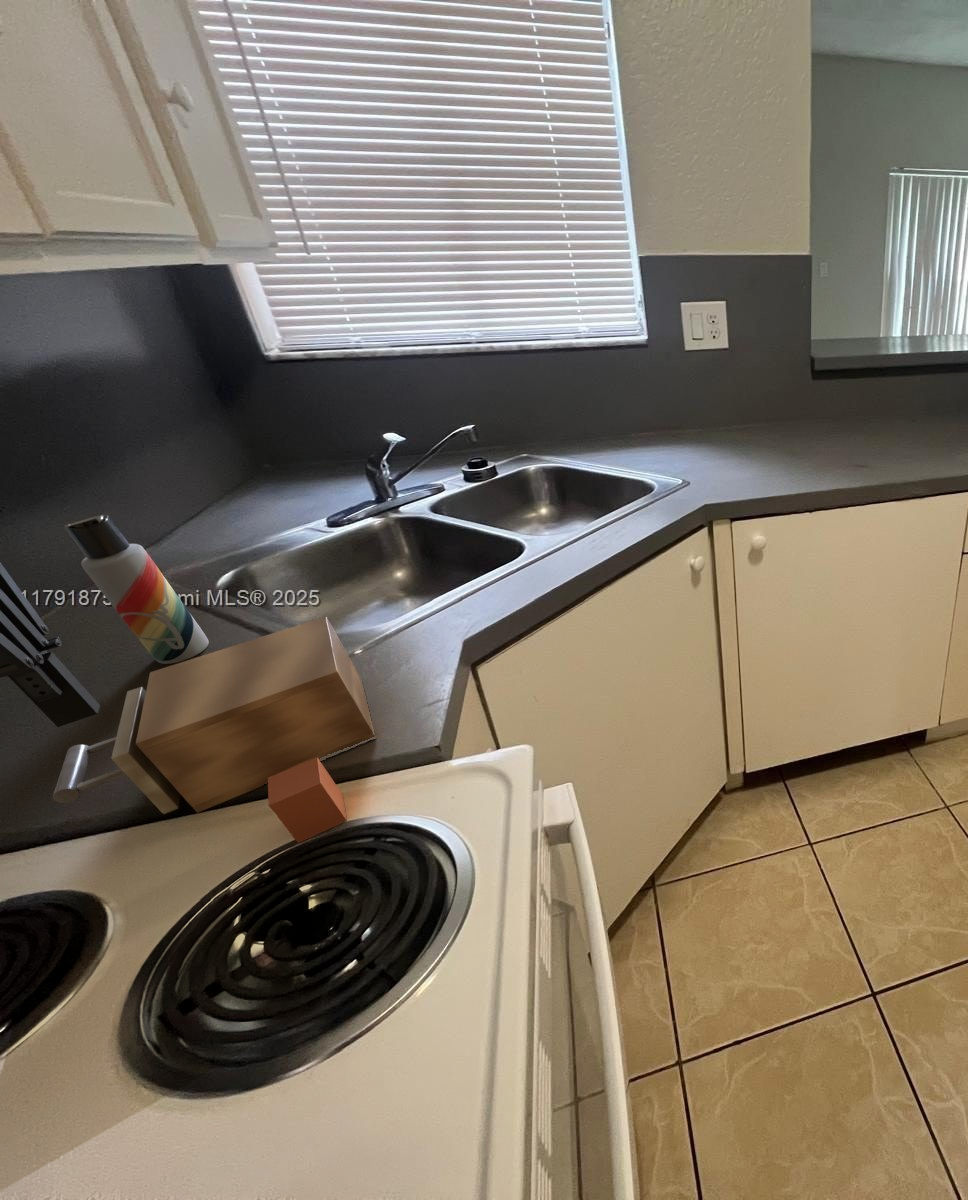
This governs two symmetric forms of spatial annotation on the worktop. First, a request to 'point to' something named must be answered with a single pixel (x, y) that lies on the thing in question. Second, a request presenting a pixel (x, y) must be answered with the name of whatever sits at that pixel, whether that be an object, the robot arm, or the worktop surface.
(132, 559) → the lotion bottle
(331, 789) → the block
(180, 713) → the cabinet
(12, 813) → the worktop surface
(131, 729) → the drawer
